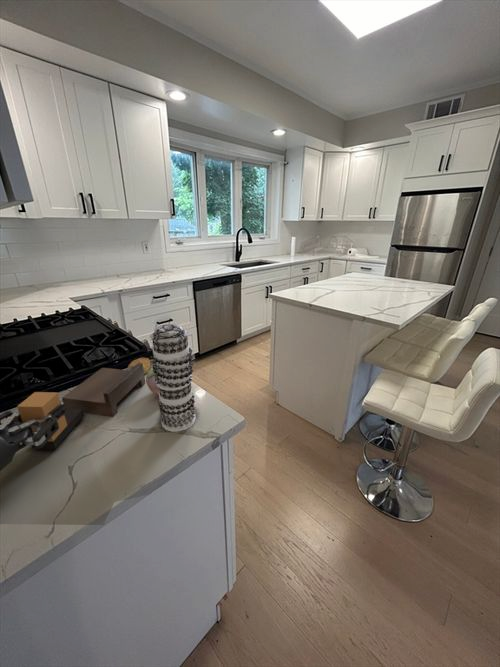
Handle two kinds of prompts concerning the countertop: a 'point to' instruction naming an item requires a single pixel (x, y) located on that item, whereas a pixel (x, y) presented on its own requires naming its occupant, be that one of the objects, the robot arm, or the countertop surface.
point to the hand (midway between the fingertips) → (51, 405)
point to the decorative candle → (173, 377)
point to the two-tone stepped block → (40, 407)
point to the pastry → (144, 361)
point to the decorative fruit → (152, 382)
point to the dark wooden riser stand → (104, 390)
